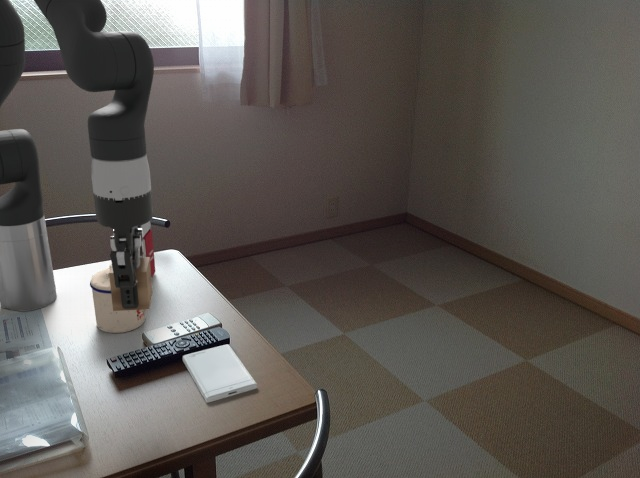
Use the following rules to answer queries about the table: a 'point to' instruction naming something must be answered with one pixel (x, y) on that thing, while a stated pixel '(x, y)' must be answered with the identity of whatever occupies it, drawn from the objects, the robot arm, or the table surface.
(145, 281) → the tan block
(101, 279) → the teacup with lid
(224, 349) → the hard drive
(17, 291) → the robot arm
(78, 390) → the table surface
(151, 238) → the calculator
